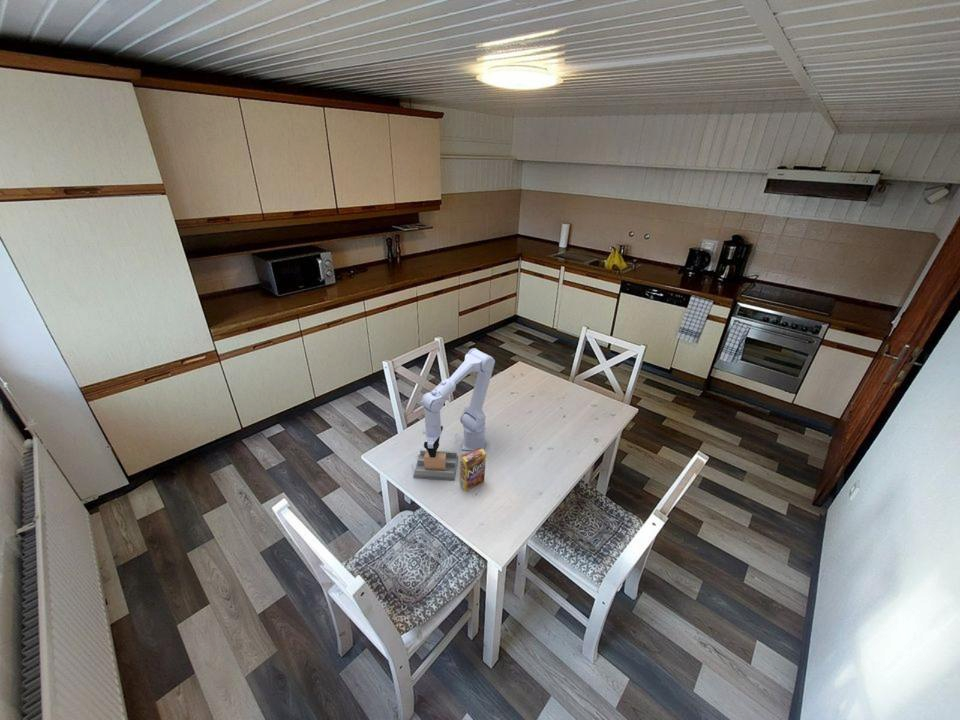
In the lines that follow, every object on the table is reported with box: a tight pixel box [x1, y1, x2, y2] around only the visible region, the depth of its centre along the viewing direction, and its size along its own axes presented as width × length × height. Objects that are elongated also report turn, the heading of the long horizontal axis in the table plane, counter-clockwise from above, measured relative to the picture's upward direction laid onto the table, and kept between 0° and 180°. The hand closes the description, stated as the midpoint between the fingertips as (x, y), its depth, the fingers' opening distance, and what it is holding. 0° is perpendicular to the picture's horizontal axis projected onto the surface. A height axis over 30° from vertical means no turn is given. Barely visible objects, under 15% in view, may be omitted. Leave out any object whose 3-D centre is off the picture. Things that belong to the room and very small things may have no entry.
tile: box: [424, 452, 447, 471], centre depth 150 cm, size 8×3×8 cm, turn 86°
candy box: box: [459, 447, 487, 492], centre depth 144 cm, size 9×4×15 cm, turn 123°
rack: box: [412, 449, 459, 481], centre depth 154 cm, size 16×12×4 cm
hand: (434, 449), depth 150 cm, fingers open, 7 cm apart
